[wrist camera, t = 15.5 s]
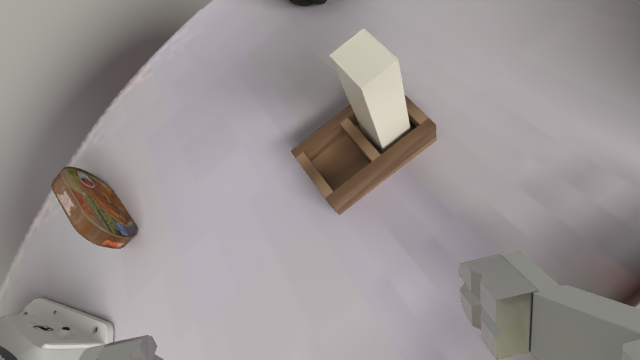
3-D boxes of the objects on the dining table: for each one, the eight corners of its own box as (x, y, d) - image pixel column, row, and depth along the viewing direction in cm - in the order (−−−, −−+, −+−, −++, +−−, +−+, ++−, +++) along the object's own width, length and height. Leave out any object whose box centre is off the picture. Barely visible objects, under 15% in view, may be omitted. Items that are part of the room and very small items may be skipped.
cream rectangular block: (411, 136, 46) (398, 59, 32) (385, 156, 46) (361, 88, 32) (386, 110, 48) (363, 28, 34) (361, 129, 48) (329, 55, 35)
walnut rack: (436, 140, 46) (435, 124, 42) (339, 214, 46) (330, 205, 42) (390, 94, 50) (386, 76, 46) (301, 163, 50) (290, 151, 46)
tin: (147, 241, 53) (98, 228, 46) (131, 257, 53) (80, 247, 46) (105, 176, 60) (56, 156, 53) (90, 190, 60) (39, 172, 52)
